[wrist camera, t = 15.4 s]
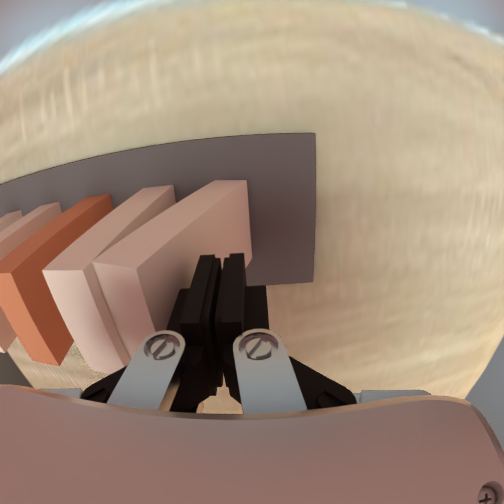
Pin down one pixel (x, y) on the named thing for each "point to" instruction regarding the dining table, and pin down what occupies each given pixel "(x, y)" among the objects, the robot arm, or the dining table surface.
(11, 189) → the mat
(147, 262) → the domino
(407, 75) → the dining table surface
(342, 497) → the robot arm
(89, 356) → the domino
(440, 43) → the dining table surface
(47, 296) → the domino
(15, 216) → the domino
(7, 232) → the domino
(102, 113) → the dining table surface
